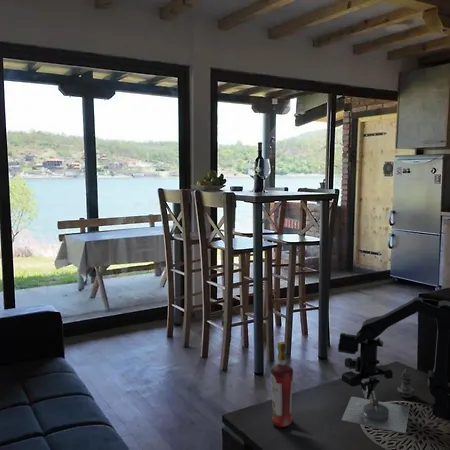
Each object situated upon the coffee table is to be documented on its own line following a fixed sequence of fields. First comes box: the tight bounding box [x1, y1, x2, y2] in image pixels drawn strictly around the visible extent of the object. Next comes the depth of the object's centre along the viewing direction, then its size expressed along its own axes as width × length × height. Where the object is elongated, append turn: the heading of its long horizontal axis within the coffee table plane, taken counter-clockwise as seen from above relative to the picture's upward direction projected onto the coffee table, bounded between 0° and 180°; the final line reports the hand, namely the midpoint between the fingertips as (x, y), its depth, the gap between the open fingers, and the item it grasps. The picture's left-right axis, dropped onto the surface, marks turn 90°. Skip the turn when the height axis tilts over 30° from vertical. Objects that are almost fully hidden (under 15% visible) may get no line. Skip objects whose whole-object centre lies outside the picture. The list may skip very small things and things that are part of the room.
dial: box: [364, 390, 389, 421], centre depth 165 cm, size 14×8×4 cm, turn 169°
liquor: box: [270, 340, 294, 428], centre depth 158 cm, size 7×7×28 cm
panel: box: [341, 396, 411, 434], centre depth 163 cm, size 20×18×1 cm
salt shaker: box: [397, 367, 415, 399], centre depth 174 cm, size 6×6×12 cm
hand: (366, 398), depth 170 cm, fingers closed
